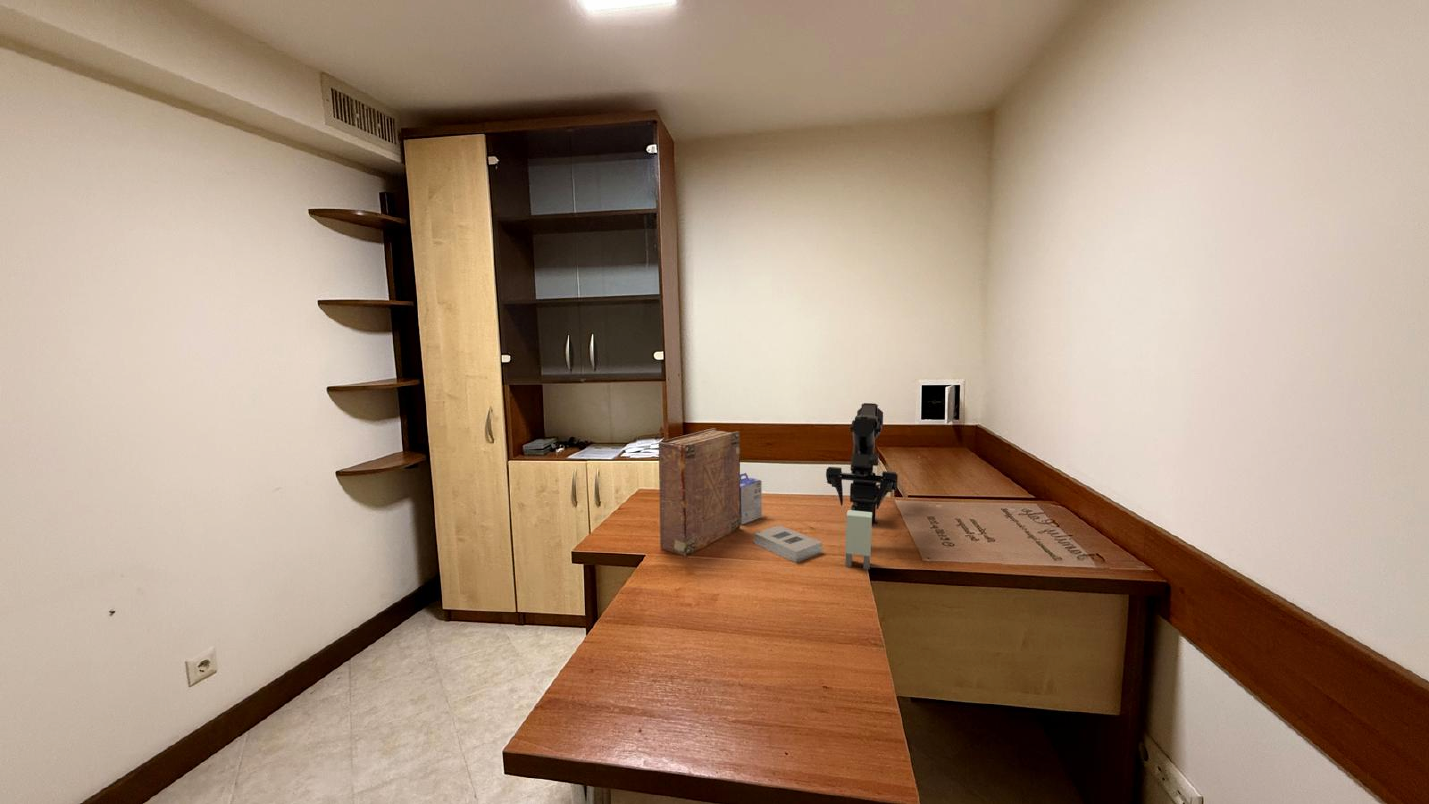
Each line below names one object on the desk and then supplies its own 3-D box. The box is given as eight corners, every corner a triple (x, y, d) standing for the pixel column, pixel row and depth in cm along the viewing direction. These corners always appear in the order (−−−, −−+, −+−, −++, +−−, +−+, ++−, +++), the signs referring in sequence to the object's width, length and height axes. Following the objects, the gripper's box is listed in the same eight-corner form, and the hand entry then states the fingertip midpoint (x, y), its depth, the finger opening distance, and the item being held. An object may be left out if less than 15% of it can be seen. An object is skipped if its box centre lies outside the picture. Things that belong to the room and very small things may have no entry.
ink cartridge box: (749, 513, 173) (750, 470, 171) (762, 517, 169) (763, 473, 167) (728, 520, 166) (728, 476, 164) (741, 525, 162) (741, 479, 160)
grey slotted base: (779, 534, 155) (779, 525, 154) (821, 552, 142) (822, 542, 142) (754, 543, 149) (754, 533, 148) (796, 563, 136) (796, 551, 136)
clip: (846, 559, 138) (847, 509, 136) (870, 562, 136) (872, 512, 134) (845, 566, 134) (846, 515, 132) (869, 569, 132) (871, 517, 130)
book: (715, 522, 165) (715, 427, 161) (740, 528, 160) (740, 431, 156) (660, 549, 145) (658, 441, 141) (685, 557, 140) (684, 446, 136)
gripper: (827, 438, 146) (821, 489, 138) (899, 443, 140) (896, 497, 132) (830, 458, 155) (824, 507, 147) (898, 463, 149) (895, 515, 140)
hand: (859, 506), depth 141 cm, fingers open, 9 cm apart
